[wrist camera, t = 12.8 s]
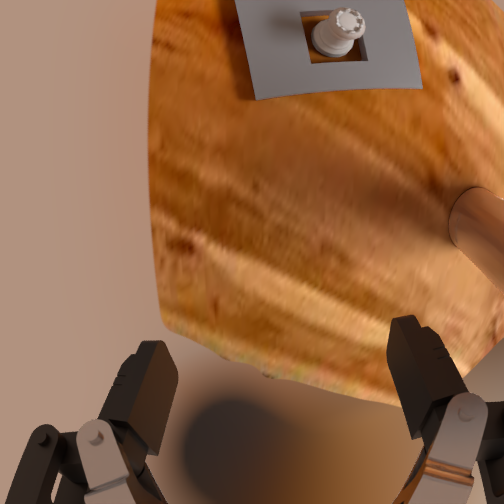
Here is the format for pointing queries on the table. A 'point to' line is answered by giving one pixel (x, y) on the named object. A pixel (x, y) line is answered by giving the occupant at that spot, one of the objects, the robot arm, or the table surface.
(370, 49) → the socket dock
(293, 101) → the table surface
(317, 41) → the rook chess piece
